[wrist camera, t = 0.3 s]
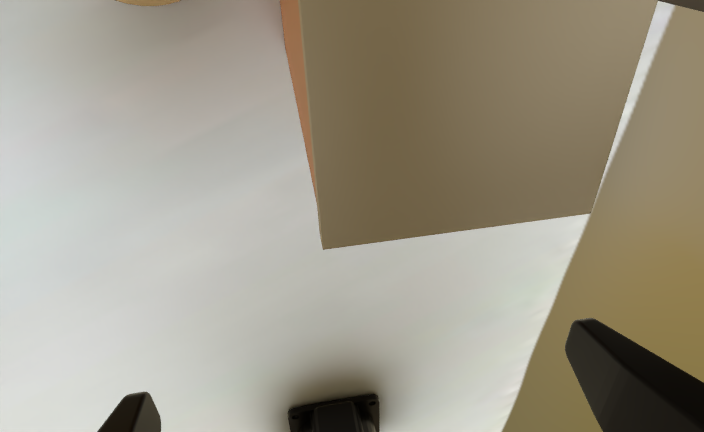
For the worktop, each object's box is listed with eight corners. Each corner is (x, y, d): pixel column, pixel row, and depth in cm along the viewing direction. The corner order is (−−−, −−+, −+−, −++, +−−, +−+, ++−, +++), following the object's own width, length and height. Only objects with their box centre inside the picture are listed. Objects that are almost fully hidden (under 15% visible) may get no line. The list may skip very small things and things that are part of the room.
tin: (408, 39, 20) (597, 212, 9) (284, 49, 19) (322, 249, 8) (413, -107, 17) (705, -122, 6) (267, -101, 16) (290, -104, 5)
